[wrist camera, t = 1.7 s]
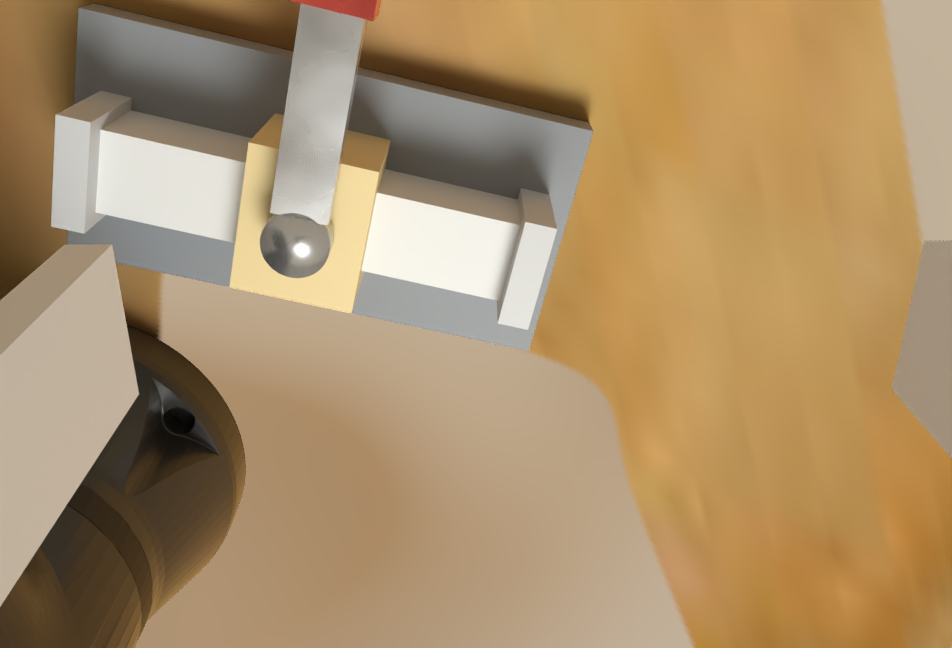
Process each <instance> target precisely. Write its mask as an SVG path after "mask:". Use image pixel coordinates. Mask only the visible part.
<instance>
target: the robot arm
mask: <svg viewBox="0 0 952 648" xmlns="http://www.w3.org/2000/svg"><path fill="white" fill-rule="evenodd" d="M892 390H893V392H894V393H895V394H896V395H897V396H898V397H899V398H900V400H901V401H902V402H903V403H904V404H905V405H906V407H907V408H908V409H909V410H910V411H911V412H912V413H913V415H914V416H915V417H916V418H917V419H918V420H919V422H920V423H921V424H922V425H923V426H924V427H925V428H926V430H927V431H928V432H929V433H930V434H931V435H932V437H933V438H934V439H935V440H936V441H937V442H938V444H939V445H940V446H941V447H942V448H943V449H944V450H945V452H946V453H947V454H948V455H949V456H950V457H951V459H952V241H924V245H923V249H922V254H921V259H920V263H919V268H918V272H917V277H916V281H915V286H914V290H913V295H912V299H911V304H910V309H909V313H908V318H907V322H906V327H905V331H904V336H903V340H902V345H901V349H900V354H899V359H898V363H897V368H896V372H895V377H894V381H893V386H892ZM245 474H246V465H245V454H244V448H243V443H242V439H241V435H240V433H239V430H238V427H237V424H236V422H235V420H234V417H233V416H232V413H231V411H230V410H229V408H228V406H227V404H226V403H225V401H224V400H223V398H222V397H221V395H220V394H219V392H218V391H217V390H216V388H215V387H214V386H213V385H212V384H211V382H210V381H209V380H208V379H207V378H206V377H205V376H204V375H203V374H202V372H200V370H199V369H198V368H196V367H195V366H194V365H193V364H192V363H191V362H190V361H188V360H187V359H186V358H185V357H184V356H182V355H181V354H180V353H178V352H177V351H175V350H174V349H173V348H171V347H170V346H168V345H166V344H165V343H163V342H162V341H160V340H158V339H156V338H154V337H152V336H151V335H149V334H147V333H144V332H142V331H140V330H138V329H136V328H133V327H130V326H128V325H127V324H126V319H125V313H124V308H123V302H122V296H121V291H120V285H119V280H118V274H117V269H116V263H115V258H114V252H113V246H112V244H88V245H63V246H62V247H61V248H60V249H59V250H58V251H56V252H55V253H54V254H53V255H52V256H51V257H50V258H48V259H47V260H46V261H45V262H44V263H43V264H41V265H40V266H39V267H38V268H37V269H36V270H35V271H33V272H32V273H31V274H30V275H29V276H28V277H27V278H25V279H24V280H23V281H22V282H21V283H20V284H19V285H17V286H16V287H15V288H14V289H13V290H12V291H11V292H9V293H8V294H7V295H6V296H5V297H4V298H3V299H1V300H0V648H135V646H136V643H137V641H138V639H139V637H140V635H141V633H142V630H143V628H144V626H145V624H146V622H147V620H149V619H150V618H151V617H152V616H153V615H154V614H155V613H156V612H157V611H158V610H159V609H160V608H161V607H163V606H164V605H165V604H166V603H167V602H168V601H169V600H170V599H171V598H172V597H173V596H174V595H175V594H176V593H178V592H179V590H181V589H182V588H183V587H184V586H185V585H186V584H187V583H188V582H189V581H190V580H191V579H192V578H193V577H195V575H197V574H198V573H199V572H200V571H201V570H202V569H203V568H204V567H205V566H206V565H207V564H208V563H209V562H210V560H211V559H212V558H213V557H214V555H215V554H216V552H217V551H218V549H219V548H220V546H221V545H222V543H223V542H224V539H225V538H226V536H227V534H228V532H229V529H230V527H231V524H232V522H233V519H234V517H235V514H236V512H237V509H238V506H239V504H240V501H241V498H242V494H243V490H244V485H245Z"/></svg>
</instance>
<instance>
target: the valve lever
mask: <svg viewBox="0 0 952 648" xmlns="http://www.w3.org/2000/svg"><path fill="white" fill-rule="evenodd" d="M289 1H293V2H297V3H301V5H300V11H299V18H298V25H297V32H296V39H295V45H294V52H293V59H292V66H291V72H290V79H289V86H288V93H287V100H286V106H285V113H284V120H283V127H282V133H281V140H280V147H279V154H278V161H277V167H276V174H275V181H274V188H273V194H272V201H271V208H270V213H273V214H272V216H271V217H270V219H269V221H268V222H267V224H266V225H265V227H264V229H263V230H262V233H261V236H260V249H261V253H262V256H263V258H264V260H265V261H266V262H267V264H268V265H269V266H270V267H271V268H272V269H273V270H275V271H276V272H278V273H279V274H281V275H284V276H287V277H291V278H304V277H308V276H311V275H313V274H315V273H316V272H318V271H319V270H320V269H321V268H322V267H323V266H324V264H325V263H326V261H327V258H328V256H329V254H330V251H331V249H332V246H333V243H334V230H333V226H332V224H331V222H330V220H331V218H332V214H333V209H334V203H335V197H336V192H337V186H338V181H339V175H340V169H341V164H342V158H343V153H344V147H345V141H346V136H347V130H348V124H349V119H350V113H351V108H352V102H353V96H354V91H355V85H356V80H357V74H358V68H359V63H360V57H361V52H362V46H363V40H364V35H365V29H366V24H367V20H370V21H374V20H375V18H376V17H377V16H378V14H379V9H380V3H381V0H289Z"/></svg>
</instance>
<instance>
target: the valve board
mask: <svg viewBox="0 0 952 648" xmlns="http://www.w3.org/2000/svg"><path fill="white" fill-rule="evenodd" d="M293 52H294V51H290V50H286V49H282V48H278V47H273V46H269V45H265V44H261V43H257V42H253V41H249V40H244V39H240V38H236V37H232V36H228V35H224V34H219V33H215V32H211V31H207V30H203V29H199V28H195V27H190V26H186V25H182V24H178V23H174V22H170V21H166V20H161V19H157V18H153V17H149V16H145V15H141V14H136V13H132V12H128V11H124V10H120V9H116V8H112V7H107V6H103V5H99V4H95V3H93V4H90V5H86V6H83V7H79V9H78V30H77V50H76V71H75V91H74V105H73V106H71V107H69V108H67V109H65V110H63V111H61V112H59V113H57V114H56V116H55V141H54V165H53V190H52V215H51V227H55V228H60V229H65V230H68V234H67V245H88V244H112V246H113V252H114V258H115V263H120V264H125V265H129V266H134V267H139V268H143V269H148V270H153V271H157V272H162V273H167V274H171V275H176V276H181V277H185V278H190V279H195V280H199V281H204V282H209V283H213V284H219V285H223V286H227V287H230V288H235V289H239V290H244V291H249V292H253V293H258V294H263V295H268V296H272V297H277V298H281V299H286V300H291V301H295V302H300V303H305V304H309V305H314V306H319V307H323V308H329V309H333V310H337V311H343V312H347V313H353V314H358V315H362V316H367V317H372V318H377V319H381V320H386V321H390V322H395V323H400V324H404V325H409V326H414V327H418V328H423V329H428V330H433V331H437V332H442V333H446V334H451V335H456V336H461V337H465V338H470V339H474V340H479V341H484V342H488V343H493V344H498V345H503V346H507V347H512V348H516V349H521V350H525V351H529V348H530V345H531V341H532V338H533V335H534V331H535V328H536V324H537V321H538V318H539V314H540V311H541V307H542V304H543V301H544V297H545V294H546V290H547V287H548V284H549V280H550V277H551V273H552V270H553V267H554V263H555V260H556V257H557V253H558V250H559V246H560V243H561V240H562V236H563V233H564V229H565V226H566V223H567V219H568V216H569V212H570V209H571V206H572V202H573V199H574V195H575V192H576V189H577V185H578V182H579V178H580V175H581V172H582V168H583V165H584V161H585V158H586V155H587V151H588V148H589V144H590V141H591V138H592V134H593V129H592V127H591V125H590V123H589V122H585V121H581V120H576V119H572V118H568V117H564V116H560V115H556V114H552V113H547V112H543V111H539V110H535V109H531V108H527V107H522V106H518V105H514V104H510V103H506V102H502V101H498V100H493V99H489V98H485V97H481V96H477V95H473V94H469V93H464V92H460V91H456V90H452V89H448V88H444V87H439V86H435V85H431V84H427V83H423V82H419V81H415V80H410V79H406V78H402V77H398V76H394V75H390V74H386V73H381V72H377V71H373V70H369V69H365V68H361V67H359V68H358V74H357V80H356V85H355V91H354V96H353V102H352V108H351V113H350V119H349V124H348V130H347V136H346V141H345V147H344V153H343V158H342V164H341V169H340V175H339V181H338V186H337V192H336V197H335V203H334V209H333V214H332V218H331V220H330V222H331V224H332V226H333V230H334V243H333V246H332V249H331V251H330V254H329V256H328V258H327V261H326V263H325V264H324V266H323V267H322V268H321V269H320V270H319V271H318V272H316V273H315V274H313V275H311V276H308V277H304V278H291V277H287V276H284V275H281V274H279V273H278V272H276V271H275V270H273V269H272V268H271V267H270V266H269V265H268V264H267V262H266V261H265V260H264V258H263V256H262V253H261V249H260V236H261V233H262V230H263V229H264V227H265V225H266V224H267V222H268V221H269V219H270V217H271V216H272V214H273V213H270V208H271V201H272V194H273V188H274V181H275V174H276V167H277V161H278V154H279V147H280V140H281V133H282V127H283V120H284V113H285V106H286V100H287V93H288V86H289V79H290V72H291V66H292V59H293Z"/></svg>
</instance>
